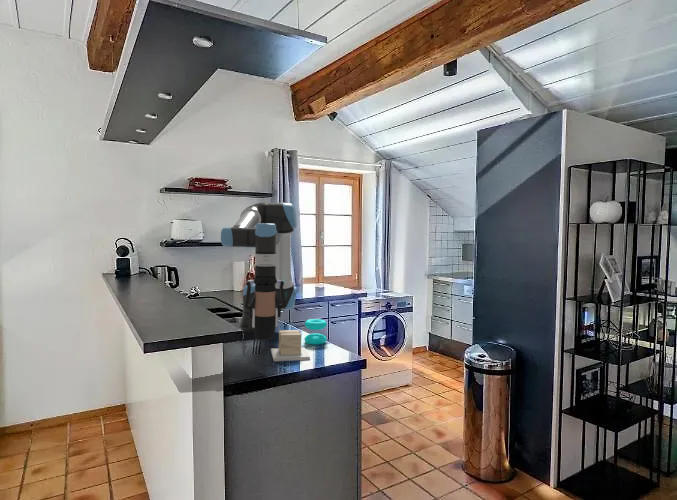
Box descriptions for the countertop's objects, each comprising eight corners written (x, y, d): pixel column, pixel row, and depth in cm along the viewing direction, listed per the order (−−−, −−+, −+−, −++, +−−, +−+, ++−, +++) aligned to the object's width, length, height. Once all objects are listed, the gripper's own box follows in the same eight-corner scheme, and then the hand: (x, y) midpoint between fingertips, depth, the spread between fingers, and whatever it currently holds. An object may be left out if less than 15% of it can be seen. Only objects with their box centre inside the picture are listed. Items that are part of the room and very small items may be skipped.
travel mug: (249, 338, 163) (250, 284, 162) (264, 333, 170) (264, 282, 168) (265, 341, 159) (265, 286, 158) (279, 337, 165) (280, 284, 164)
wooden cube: (278, 349, 181) (279, 330, 181) (298, 349, 183) (298, 329, 183) (280, 355, 174) (281, 335, 173) (300, 354, 175) (301, 334, 175)
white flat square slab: (271, 351, 184) (271, 348, 184) (304, 350, 187) (304, 346, 187) (273, 361, 170) (273, 357, 170) (309, 359, 173) (309, 356, 173)
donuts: (301, 319, 202) (321, 317, 206) (301, 341, 202) (320, 339, 207) (310, 323, 193) (330, 321, 197) (309, 346, 193) (330, 344, 198)
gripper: (236, 266, 156) (236, 329, 158) (294, 266, 161) (293, 327, 163) (236, 264, 164) (236, 325, 165) (292, 264, 168) (291, 323, 170)
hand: (264, 326), depth 164 cm, fingers closed on travel mug, 8 cm apart
